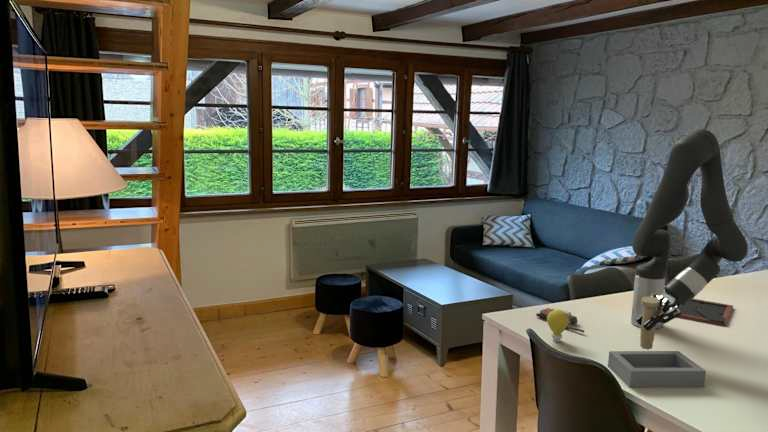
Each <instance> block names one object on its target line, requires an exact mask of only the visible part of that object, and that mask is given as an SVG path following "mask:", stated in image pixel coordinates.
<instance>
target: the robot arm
mask: <svg viewBox="0 0 768 432" xmlns="http://www.w3.org/2000/svg"><path fill="white" fill-rule="evenodd" d="M671 147H672V148H671V150H670V152H669V155H668V160H667V164H666V167H665V170H664V173H663V176H662V178H661V180H660V182H659V185H658V186H657V188H656V189H655V192H654V195H653V197H652V199H651V202H650V204H649V207H648V209H647V211H646V214H645V215H644V218H643V219H642V221H641V223H640V224H639V226H638V227H637V229H636V231H635V232H634V235H633V239H632V244H631V247H632V251H633V253H634V254H635V255H637V256H640V257H652V259H651V260H649V261H647V262H645V263H641V264H639V265H637V266H636V267H635V275H634V284H633V298H632V306H631V307H632V309H631V317H630V322H631V324H632V325H634V326H636V327H639V328H641V323H642V317H643V310H644V306H643V305H642V304H641V299H642V298H643V297H646V296H648V297H655V298H658V299H659V300H660V305H659V307H657V308H656V313H655V314H654V315H653V318H652V317H651V318H650V319H649V320H648V321H647V322H645V323H644V324H643V327H644V328H645V329H646V330H647V331H649V330H650V329H651V328H653V327H654V326H655V330H656V329H659V328H664V325H665V324H667V323H668V322H670V321H672V320H673V319H676V318H677V317H678V316H679V315H681V314H682V313H681V312H680V310H679V309H678V308H679V306H680V305H683V306H684V305H686V304H687V303H688V302H689V301H690V300H692V299H695V298H696V296H698V294H699V293H701V292H702V291H703V290H704V288H705V287H706V286H708V284H709V283H710V282H711V281H712V280H714V279H715V277H717V276H718V275H719V274H720V272H721V268H720V265H719V262H720V261H721V259H724V260H726V261H728V262H733V263H737V262H741V261H743V260H744V259H745V258H746V257H747V255H748V253H749V246H748V242H747V239H746V237H745V236H744V235H743V232H742V230H741V229H740V227H739V226H738V224H737V222H736V221H735V219H734V215H733V212H732V210H731V205H730V203H729V199H728V197H727V192H726V186H725V181H724V171H723V167H722V166H723V164H722V157H721V149H720V145H719V141H718V138H717V137H716V136H715V134H714V133H713V132H712V131H710V130H708V129H704V128H699V129H696V130H693V131H692V132H690V133H688V134H687V135H685V136H684V137H682V138H680V139H679V140H677V141H676V142H675V143H674V144H673V145H672V146H671ZM698 169H700V172H701V173H700V174H701V188H700V191H701V192H700V201H699V202H700V210H701V213H702V215H703V219H704V221H705V225H706V227H707V229H708V230H709V231H710V232H711V233H713V234H714V236H712V237H711V238H709V240H708V241H707V243H705V246H704V247H703V248H702V250H701V251H700V252H699V253H700V254H699V255H698V257H696V259H694V260H693V261H692V262H691V263H690V264H689V265H688V266H687V267H686V268H684V269H682V270H681V271H680V272H678V274H676V275H675V277H673V278H672V279H671V280H670V281H669V282H667V284H666V285H665V282H666V275H667V274H666V273H667V269H668V262H669V257H670V256H669V255H670V251H671V236H670V233H669V231H668V230H666V229H662V228H664V227H665V226H667V225H668V224H670V223H672V222H674V221H675V220H677V219H678V218H679V217H680V216H681V215H682V213H683V211H684V209H685V207H686V206H687V203H688V201H689V199H690V198H689V197H690V192H689V191H690V190H689V188H688V185H689V181H690V180H691V178H692V177H693V175H695V172H696V171H697V170H698Z"/></svg>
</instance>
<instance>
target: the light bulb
mask: <svg viewBox="0 0 768 432" xmlns="http://www.w3.org/2000/svg"><path fill="white" fill-rule="evenodd" d="M562 310H563V309H554V310H553V311H551V312H550V313H549V314H548V316H547V321H546V322H547V324H548V325H547V326H549V328H550V330H551V338H552V341H553V342H556V343H557V342H561V339H562V338H563V334H562V333H563V332H564V331H565V330H566V329H567V328H566V327H567V325H568V323H569V318H568V316H567V314H566V313H565V312H564V311H565V310H564V311H562Z"/></svg>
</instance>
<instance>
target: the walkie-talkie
mask: <svg viewBox="0 0 768 432" xmlns="http://www.w3.org/2000/svg"><path fill="white" fill-rule="evenodd" d="M553 310H556V309H555V308H554V307H553V308H550V307H547V308H544V309H541V310H539V313H538V312H537V313H536V314H535V316H536V317H539V319H540V320H543V321H546V322H547V316H548V314H549V313H550V312H551V311H553ZM561 310H562V311H564V312H565V313H566V314H567V316H568V318H569V323H568V325H567V327H566V328H565V329H569V330H571V331H575V332H581V333H583V334H584V333H585V330H584V329H580V328H578V327H575V326H576V325H578V317H577V316H575V315H572V313H571V312H570V311H566V310H564V309H561Z"/></svg>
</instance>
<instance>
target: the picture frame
mask: <svg viewBox="0 0 768 432" xmlns="http://www.w3.org/2000/svg"><path fill="white" fill-rule="evenodd" d="M678 309H679V310H680V312H681V313H682V314H681V315H679V316H678V317H676V318H678V319H683V320H687V321H693V322H700V323H702V324H703V323H704V324H710V325H714V326H720V327H727V326H726V325H727V324H728V321H729V319H730V317H731V315H732V312H733V309H734V305H732V304H726V303H720V302H715V301H708V300H704V299H698V298H693V299H692V300H690V301H689V302H688V303H687V304H686V305H684V306H683V305H680V306H679V308H678Z"/></svg>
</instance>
